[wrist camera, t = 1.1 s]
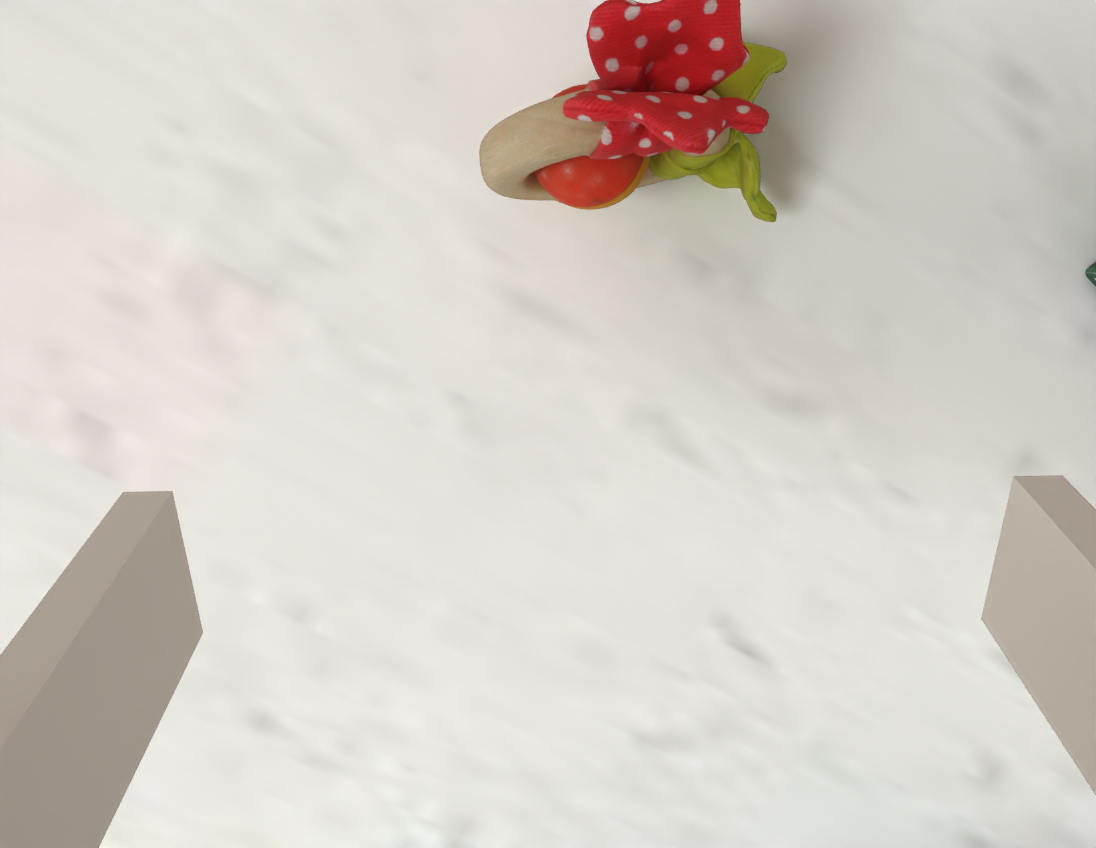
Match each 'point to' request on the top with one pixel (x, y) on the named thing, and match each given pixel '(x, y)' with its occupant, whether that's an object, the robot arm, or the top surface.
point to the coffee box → (1091, 273)
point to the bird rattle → (643, 111)
